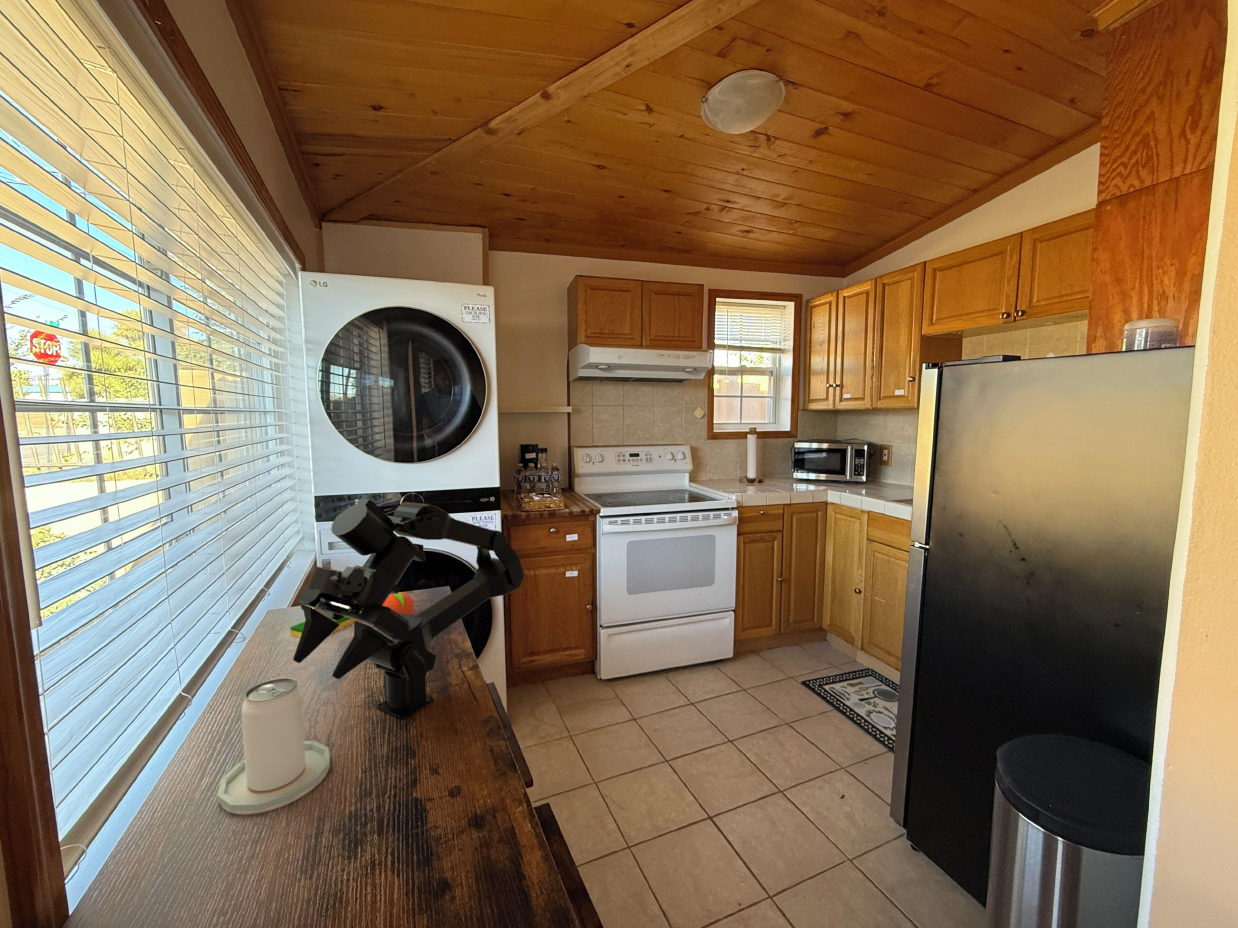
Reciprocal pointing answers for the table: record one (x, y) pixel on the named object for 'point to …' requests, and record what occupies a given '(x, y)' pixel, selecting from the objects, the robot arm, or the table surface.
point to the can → (273, 734)
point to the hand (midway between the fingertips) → (315, 669)
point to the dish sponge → (298, 629)
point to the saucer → (247, 801)
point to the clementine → (400, 603)
